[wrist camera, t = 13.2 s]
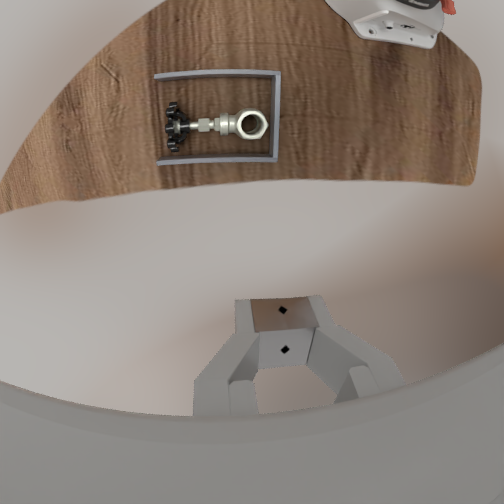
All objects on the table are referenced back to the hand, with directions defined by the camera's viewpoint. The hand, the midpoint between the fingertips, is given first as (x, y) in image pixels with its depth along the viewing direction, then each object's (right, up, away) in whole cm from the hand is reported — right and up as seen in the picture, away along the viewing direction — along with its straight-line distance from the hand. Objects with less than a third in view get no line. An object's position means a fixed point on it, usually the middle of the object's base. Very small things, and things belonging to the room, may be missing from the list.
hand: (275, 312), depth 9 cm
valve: (-5, +20, +25) cm, 32 cm away
